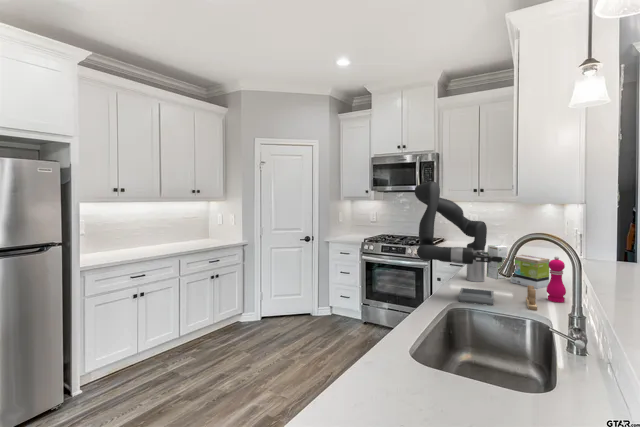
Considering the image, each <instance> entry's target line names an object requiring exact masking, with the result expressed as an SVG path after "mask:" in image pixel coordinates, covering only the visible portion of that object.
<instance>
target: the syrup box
mask: <svg viewBox="0 0 640 427" xmlns="http://www.w3.org/2000/svg"><path fill="white" fill-rule="evenodd" d="M508 249H509V248H508V246H506V245H502V244H490V245H487V250H486V252H487V254H488V256H492V257H493V256H495V257H502V262H493V261H492V262H491V263H488V262H486V278H489V279H494V280H503V279H506V278H505V277H503V276H501V275H500V274H499V273H498V269H499V268H500V267H501V265H502V264H503V262H504V260H505V259H506V257H507V258H508Z"/></svg>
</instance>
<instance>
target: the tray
mask: <svg viewBox="0 0 640 427" xmlns="http://www.w3.org/2000/svg"><path fill="white" fill-rule="evenodd" d="M494 292H495V291H494V290H491V289H490V290H489V289H488V290H487V289H477V288H469V287H460V289H459V293H458V302H459V303H465V302H466V303H467V304H474V303H476V304H477V305H483V304H487V306H492V305H494V302H495V301H494V299H495V298H494V295H495V294H494ZM476 304H475V305H476ZM494 306H495V305H494Z"/></svg>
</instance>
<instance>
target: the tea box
mask: <svg viewBox="0 0 640 427" xmlns="http://www.w3.org/2000/svg"><path fill="white" fill-rule="evenodd" d="M515 256H516V258H515V266H516V269H515V272H514V274H513V276H512V277H511V276H510V283H511V284H513V283H514V284H516V285H522V286H525V287H528V285H531V286H534V289H535V290H536V289H543V288H547V286H548V284H549V282H550V268H549V262H550V258H545V257H541V256H540V257H539V256H533V255H527V254H517V255H515Z"/></svg>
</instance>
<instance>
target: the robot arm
mask: <svg viewBox="0 0 640 427" xmlns="http://www.w3.org/2000/svg"><path fill="white" fill-rule="evenodd" d="M414 195H415V197H416V198H417V200H418V201H420V202H421V203H422V204H425V205H426V208H425V211H424V213H423V215H422V217H421V218H420V222H419V226H418V240H419V246H418V247H417V248H416V254H417V257H418V258H419V259H420V260H421V261H423V262H430V261H433V260H435V261H439V262H443V263H454V264H463V265H466V280H467V281H470V282H476V283H477V282H485V280H486V279H485V278H486V277H485V274H486V273H485V272H486V270H485V267H486V266H485V265H486V263H487V262H488V263H491V262H492V261H493V262H502V257H495V256H493V257H492V256H488V254H487V251H486V250H485V248H486V244H487V235H488V230H487V229H488V228H487V223H485V221H482V220H471V219H469V218H467V217H465V214H464V211H463V208H462V207H460V206H459V205H458V204H457V203H456V202H454V201H453V200H450V199H447V198H443V197H440V195H441V189H440V186H439V184H438V183H437V182H436V181H427V182H424V183H420V184H418V185H417V186H416V187H415V188H414ZM437 213H439V214H440V215H441V216H442V217H444V218H445V219H446V220H447V221H449V222H450V223H452V224H453V225H454V226H456V227H457V228H458V229H459V230H460V231H461V232H462V233H463V234H465V235H466V237H469V238H470V237H471V238H474V239H473V242H469V243H467V244H466V247H463V246H462V247H461V246H453V247H452V246H437V245H434V234H435V221H436V214H437Z"/></svg>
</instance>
